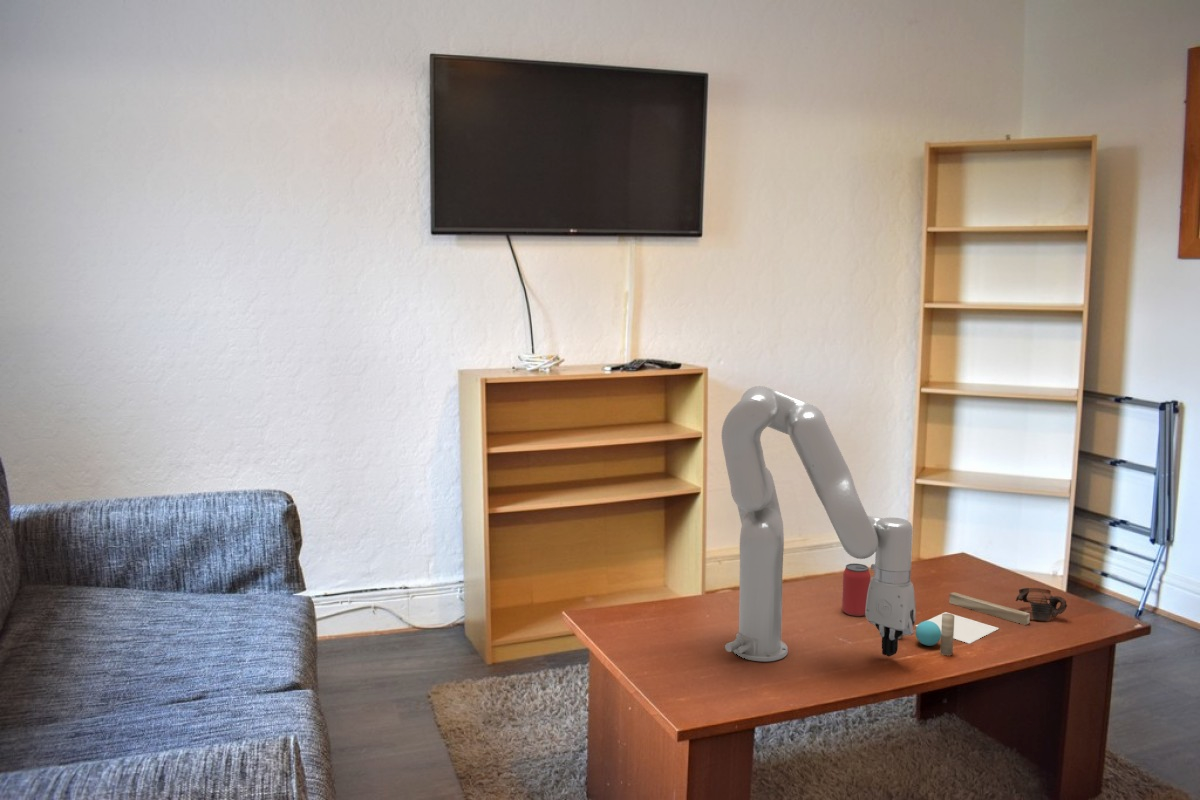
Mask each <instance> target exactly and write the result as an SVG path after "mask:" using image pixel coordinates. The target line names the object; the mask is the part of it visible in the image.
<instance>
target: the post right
mask: <svg viewBox="0 0 1200 800" xmlns="http://www.w3.org/2000/svg"><path fill="white" fill-rule="evenodd" d="M944 613H945V612H944ZM947 613H948V612H947ZM947 613H945V614H942V613H941V614H942V629H941V638H940V650H939V651H940V652H939V654H940V655H942V654H943V655H942V656H944V655H947V656H946V657H949V656H948V655H952V654H953V651H954V639H953V636H954V617H955V616H954V615H955V614H954V615H952V614H953V613H951V614H947ZM952 656H953V655H952Z"/></svg>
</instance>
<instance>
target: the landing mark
mask: <svg viewBox="0 0 1200 800" xmlns="http://www.w3.org/2000/svg"><path fill="white" fill-rule="evenodd" d="M945 613H947V614H952V615H954V616H955V617H954V636H953V640H955V639H956V641H959V642H961V641H962V643H964V642H965V644H968V645H971V644H972V643H975V642H977V641H979V640H980V638H981V639H982V637H983V638H985V637H986V635H987V636H988V635H990V634H993V633H994V632H995V631H998V630H1000V628H999V627H997V626H993V625H990V624H987V623H983V622H980V621H976V620H974V619H971V618H967V617H963V616H960V615H957V614H953V613H952V612H951V613H950V612H946V611H945V612H942V613H941V614H938V615H935V616H934V617H932V618H931V617H930V619H927V620H926V621H931V622H934V623H935V624H937V625H938V627H939V628H940V630H941V629H942V614H945ZM919 624H920V623H918V624H916V625H914V627H916V628H917V626H918V625H919ZM984 636H985V637H984Z"/></svg>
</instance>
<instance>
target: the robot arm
mask: <svg viewBox="0 0 1200 800" xmlns="http://www.w3.org/2000/svg"><path fill="white" fill-rule="evenodd" d="M766 428H770V429H773V430H774V431H777V432H780V433H782V434H786V435H788V436H789V438H790V441H791V443H792V445H793V447H794V449H795V451H796V454H797V455H798V457H799V459H800V461H801V463H802V465H803V466H804V467H803V468H804V469H805V471H806V473H807V475H808V477H809V480H810V482H811V484H812V487H813V488H814V490H815V493H816V495H817V497H818V498H819V500H820V502H821V504H822V505H823V507H824V510H825V511H826V514H827V516H828V518H829V520H830V523H831V525H832V527H833V530H834V531H835V533H836V535H837V538H838V539H839V541H840V544H841V546H842V548H843V549H844V551H845V553H847V554H848V555H849V556H850V557H852V558H855V559H859V560H864V559H868V558H870V557H872V556H873V555H874V554H875V561H874V562H875V563H872V564H871V565H870V569H871V571H874V574H873V576H870V584H869V588H868V593H867V600H866V611H865V614H866V615H865V618H866V620H867V621H868V622H869V623H870V624H872V626H875V627H876V629H877V630H878V631H879V635H880V637H881V649H882V650H881V654H882V655H883V656H886V657H888V658H889V657H892V656H894V655H896V654H897V653H898V646H899V645H898V644H899V639H898V638H899V637H900V636H901V635H903V636H912V635H913V634H914V632H915V631H914V627H915V623H916V597H915V596H916V595H915V589H914V584H913V582H911V576H912V574H911V572H912V553H913V552H912V551H913V528H914V527H913V525H912V523H911V522H910V521H909V520H907V519H904V518H899V517H885V518H883V517H877V516H873V515H867V512H866V510H865V508H864V506H863V504H862V501H861V498H860V497H859V494H858V492H857V489H856V485H855V483H854V479H853V476H852V473H851V471H850V469H849V466H848V464H847V462H846V461H845V458H844V456H843V455H842V452H841V450H840V448H839V446H838V444H837V442H836V440H835V437H834V436H833V434H832V431H831V429H830V428H829V425H828V423H827V421H826V418H825V415H824V413H823V412H822V410H820V409H819V408H818V407H817V406H814V405H813V404H810V403H809V402H806V401H805V402H804V401H802V400H800V399H797V398H795V397H792V396H789V395H787V394H785V393H782V392H780V391H778V390H775V389H774V388H773V389H772V388H770V387H767V386H764V385H763V386H761V385H757V386H753V387H752V386H751V387H750V388H748V389H747V390H746V391H745V392H744V393H743V394H742V395H741V399H740V400H739V401H738V402H737V403H736V404H735V405H734V406H733V407H732V408H731V409H730V411H729V412H728V413H727V415H726V417H725V419H724V421H723V424H722V427H721V444H722V449H723V454H724V461H725V467H726V470H727V475H728V479H729V485H730V494H731V497H732V499H733V501H734V503H735V504H736V507H737V509H738V513H739V519H740V523H741V529H740V535H739V595H738V597H739V598H738V599H739V600H738V601H739V610H738V616H739V617H738V632H737V633H736V635H735V639H734V640H733V641H730V642H727V643H725V646H724V647H725V651H727V652H728V653H731V652H733V654H735V655H736V654H737V655H738V656H737V655H736V656H737V657H739V656H740V658H741V657H742V659H744V658H745V659H744V660H748V661H753V662H761V663H762V662H764V663H766V662H775V661H780V660H782V659H784V658H785V657H786V656H788V652H789V647H788V645H787V644H786V643H785V642H784V641H782V621H783V620H782V619H783V618H782V616H783V614H782V612H783V568H784V566H783V565H784V552H785V551H784V550H785V549H784V548H785V537H784V536H785V534H784V522H783V517H782V512H781V508H780V504H779V499H778V495H777V491H776V486H775V481H774V477H773V475H772V473H771V471H770V469H768V467H767V466H766V462H765V458H764V451H763V447H762V443H761V435H762V433H763V431H764V430H765V429H766Z"/></svg>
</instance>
